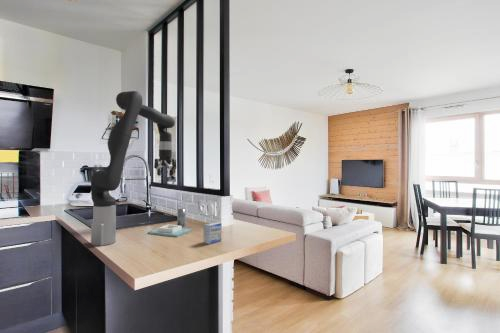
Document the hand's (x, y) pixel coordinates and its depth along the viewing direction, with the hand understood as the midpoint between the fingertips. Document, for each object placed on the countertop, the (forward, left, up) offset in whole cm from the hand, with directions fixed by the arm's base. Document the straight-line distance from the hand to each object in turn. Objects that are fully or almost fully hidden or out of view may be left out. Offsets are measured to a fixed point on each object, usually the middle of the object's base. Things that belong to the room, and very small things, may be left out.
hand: (165, 175), depth 171 cm
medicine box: (-25, -45, -30) cm, 59 cm away
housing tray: (-17, -16, -29) cm, 38 cm away
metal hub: (-2, -13, -29) cm, 32 cm away
